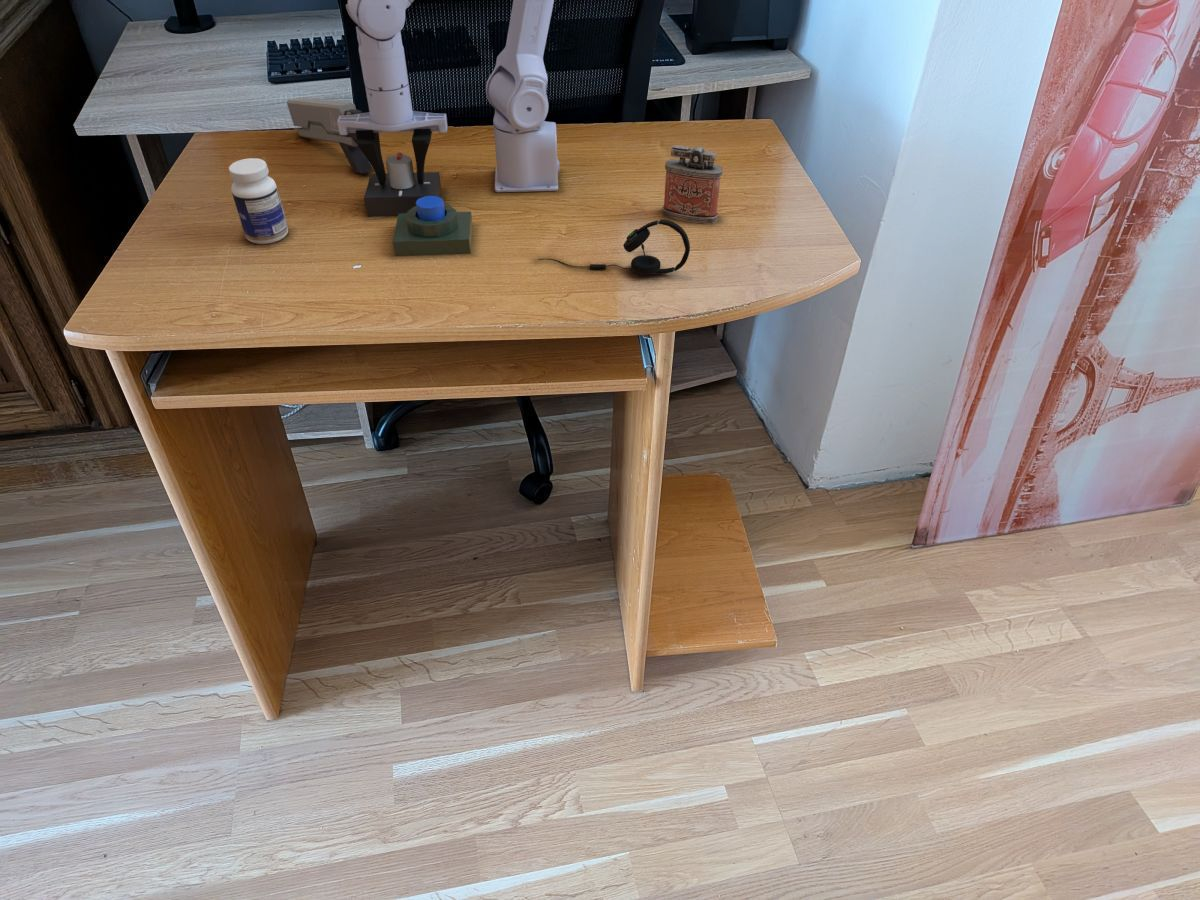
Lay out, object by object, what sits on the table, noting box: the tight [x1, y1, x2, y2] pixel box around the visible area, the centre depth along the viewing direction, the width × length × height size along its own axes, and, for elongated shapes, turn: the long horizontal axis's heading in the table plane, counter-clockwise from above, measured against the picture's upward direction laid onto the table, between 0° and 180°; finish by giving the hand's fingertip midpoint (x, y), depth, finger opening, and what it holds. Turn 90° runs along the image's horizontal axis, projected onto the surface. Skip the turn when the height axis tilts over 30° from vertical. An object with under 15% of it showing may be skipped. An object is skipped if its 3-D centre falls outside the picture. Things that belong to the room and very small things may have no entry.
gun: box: [286, 97, 373, 175], centre depth 132 cm, size 2×25×10 cm, turn 41°
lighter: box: [661, 144, 723, 225], centre depth 117 cm, size 8×3×10 cm, turn 71°
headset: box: [537, 219, 691, 276], centre depth 109 cm, size 7×7×20 cm
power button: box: [416, 196, 445, 221], centre depth 111 cm, size 4×4×2 cm
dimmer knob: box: [385, 152, 415, 189], centre depth 119 cm, size 4×4×4 cm
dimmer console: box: [363, 171, 443, 218], centre depth 121 cm, size 10×8×3 cm
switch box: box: [392, 203, 474, 257], centre depth 112 cm, size 10×8×4 cm
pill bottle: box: [228, 157, 289, 245], centre depth 111 cm, size 6×6×10 cm
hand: (402, 181), depth 120 cm, fingers open, 5 cm apart
